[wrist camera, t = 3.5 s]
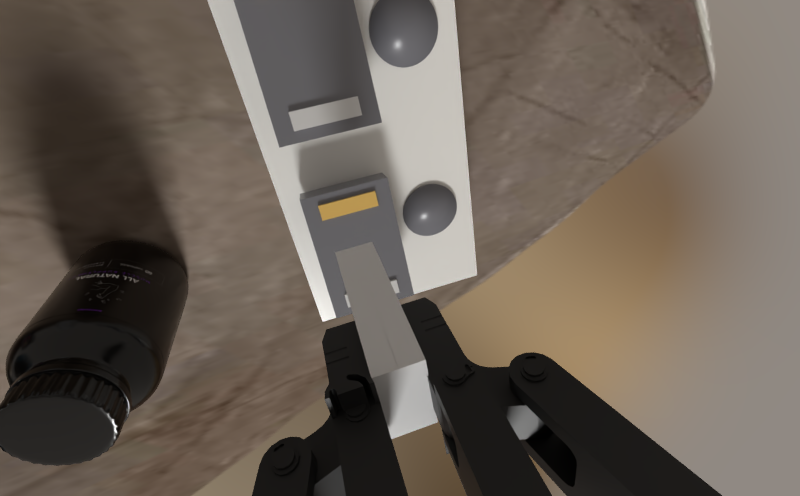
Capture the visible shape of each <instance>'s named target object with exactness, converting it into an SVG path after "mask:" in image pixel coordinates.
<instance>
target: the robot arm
mask: <svg viewBox="0 0 800 496" xmlns="http://www.w3.org/2000/svg"><path fill="white" fill-rule="evenodd" d="M335 254H336V257H337V261H338V264H339V268H340V271H341V275H342V278H343V282H344V285H345V289H346V292H347V296H348V299H349V302H350V306H351V309H352V313H353V316H354V320H355V321H352V322H349V323H346V324H343V325H340V326H337V327H333V328H330V329H327V330H326V332H325V335H324V338H323V341H322V344H323V350H324V355H325V361H326V365H327V366H326V367H327V372H328V378H329V385H328V387H327V389H326V391H325V401H326V404H327V406H328V409H329V411H330V416H329V418H328V420H327V421H326V422H325V424H324V425H323V426H322V427H320V428H319V429H318V430H317V431H316V432H314V433H313V434H312V435H310V436H308V437H307V438H306V439H304V440H303V439H301V438H300V437H288V438H285V439H282V440H279V441H278V442H277V443H275V444H274V445H272V446H271V447H270V448H269V449H268V451H267V452H266V453H265V454H264V456H263V458H262V460H261V463H260V465H259V469H258V473H257V477H256V481H255V486H254V490H253V494H252V496H408V493H407V490H406V487H405V484H404V480H403V477H402V473H401V470H400V466H399V463H398V460H397V457H396V453H395V450H394V447H393V443H392V440H391V439H393V438H396V437H398V436H401V435H404V434H407V433H409V432H412V431H415V430H418V429H420V428H423V427H425V426H428V425H431V424H434V423H437V422H438V421H437V418H438V420H439V422H440V425H441V427H442V432H443V437H444V443H445V448H446V453H447V454H449V453H450V455H451V458H452V460H453V462H454V465H455V468H456V470H457V472H458V475H459V477H460V479H461V482H462V485H463V487H464V489H465V492H466V494H467V496H552V495H551V493H550V491H549V490H548V488H547V486H546V484H545V483H544V481H543V479H542V478H541V476H540V474H539V472H538V471H537V469H536V467H535V466H534V464H533V462H532V460H531V459H530V457H529V455H530V456H531V457H532V458H533V460H534V461H535V462H536V463H537V464H538V465H539V466H540V467H541V468H542V469H543V470H544V471H545V473H546V474H547V475H548V476H549V477H550V478H551V479H552V480H553V481H554V482H555V483H556V484H557V486H558V487H559V488H560V489H561V490H562V491H563V492H564V493H565V494H566V495H567V496H722V495H721V494H719V493H718V492H717V491H716V490H714V489H713V488H712V487H711V486H709V485H708V484H707V483H706V482H704V481H703V480H702V479H701V478H699V477H698V476H697V475H696V474H694V473H693V472H692V471H691V470H689V469H688V468H687V467H686V466H684V465H683V464H682V463H681V462H679V461H678V460H677V459H676V458H674V457H673V456H672V455H671V454H669V453H668V452H667V451H666V450H664V449H663V448H662V447H661V446H659V445H658V444H657V443H656V442H654V441H653V440H652V439H651V438H649V437H648V436H647V435H646V434H644V433H643V432H642V431H641V430H639V429H638V428H637V427H636V426H634V425H633V424H632V423H631V422H629V421H628V420H627V419H626V418H624V417H623V416H622V415H621V414H620V413H618V412H617V411H616V410H615V409H613V408H612V407H611V406H610V405H608V404H607V403H606V402H605V401H603V400H602V399H601V398H600V397H598V396H597V395H596V394H595V393H593V392H592V391H591V390H590V389H588V388H587V387H586V386H584V385H583V384H582V383H581V382H580V381H578V380H577V379H576V378H574V377H573V376H572V375H571V374H570V373H568V372H567V371H566V370H565V369H563V368H562V367H561V366H560V365H558V364H557V363H556V362H555V361H553V360H552V359H550V358H549V357H546V356H545V355H543V354H539V353H524V354H521V355H519V356H516V357H515V358H514V359H513V360H512V361H511V363H510V366H509V367H495V368H492V367H483V366H479V365H477V364H474V363H473V362H471V361H470V360H468V359H467V357H466V356H465V355H464V353H463V352H462V350H461V348H460V346H459V345H458V343H457V341H456V339H455V338H454V336H453V334H452V332H451V331H450V329H449V327H448V325H447V324H446V322H445V320H444V318H443V317H442V315H441V313H440V311H439V309H438V308H437V306H436V304H434V303H433V302H431V301H430V300H428V299H427V298H421V299H418V300H415V301H412V302H409V303H406V304H403V305H401V304H400V302H399V300H398V298H397V295H396V293H395V291H394V289H393V287H392V284H391V282H390V280H389V278H388V276H387V273H386V271H385V269H384V267H383V265H382V262H381V260H380V258H379V256H378V254H377V251H376V249H375V247H374V245H373V243H372V242H369V243H366V244H362V245H359V246H355V247H352V248H349V249H345V250H342V251H338V252H335ZM528 454H529V455H528Z"/></svg>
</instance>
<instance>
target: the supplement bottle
mask: <svg viewBox="0 0 800 496" xmlns="http://www.w3.org/2000/svg"><path fill="white" fill-rule="evenodd" d="M187 295H188V281H187V278H186V275H185V272H184V270H183V269H182V267H181V266H180V265H179V263H178V262H177V261H176V260H175V259H174V258H173V257H172V256H170V255H169V254H168V253H166V252H165V251H163V250H161V249H159V248H157V247H155V246H152V245H149V244H146V243H142V242H137V241H113V242H108V243H104V244H101V245H98V246H96V247H94V248H92V249H90V250H89V251H87V252H86V253H85V254H84V255H83V256H82V257H81V258H80V259H79V260H78V261H77V262H76V263H75V264H74V266H73V267H72V268H71V269H70V271H69V272H68V273H67V274H66V276H65V277H64V278H63V280H62V281H61V282H60V283H59V285H58V286H57V287H56V289H55V290H54V291H53V292H52V294H51V295H50V296H49V298H48V299H47V300H46V302H45V303H44V304H43V305H42V307H41V308H40V309H39V311H38V312H37V313H36V314H35V316H34V317H33V318H32V320H31V321H30V322H29V323H28V325H27V326H26V327H25V329H24V330H23V331H22V332H21V334H20V335H19V336H18V338H17V339H16V341H15V342H14V343H13V345H12V347H11V348H10V350H9V353H8V355H7V359H6V376H7V380H8V383H9V385H10V388H9V390H8V391H7V393H6V395H5V398H4V400H3V401H2V403H1V404H0V447H1V448H2V450H3V451H5V452H7V453H9V454H10V455H11V456H13V457H17V458H19V459H21V460H23V461H29V462H31V463H34V464H43V465H56V466H59V465H71V464H75V463H82V462H84V461H89V460H92V459H93V458H95V457H99V456H100V455H101V454H102V453H104V452H107V451H108V449H109V448H110V447H112V446H113V445H114V443H115V441H116V440H117V438H118V437H119V435H120V432H121V429H122V427H123V424H124V422H125V421H126V420H127V418H128V415H129V413H130V412H131V411H132V410H134V409H136V408H137V407H139V406H140V405H142V404H143V403H144V402H145V401H146V400H148V399H149V398H150V397H151V395H152V394H153V393H154V392H155V390H156V389H157V387H158V385H159V383H160V381H161V379H162V376H163V373H164V370H165V367H166V364H167V360H168V357H169V354H170V351H171V348H172V345H173V341H174V338H175V335H176V332H177V329H178V325H179V322H180V319H181V316H182V313H183V309H184V306H185V303H186V299H187Z"/></svg>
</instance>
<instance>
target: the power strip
mask: <svg viewBox="0 0 800 496" xmlns="http://www.w3.org/2000/svg"><path fill="white" fill-rule="evenodd" d="M208 3H209V6H210V9H211V12H212V14H213V17H214V20H215V23H216V26H217V28H218V31H219V34H220V37H221V40H222V42H223V45H224V48H225V51H226V53H227V56H228V59H229V62H230V65H231V67H232V70H233V73H234V76H235V79H236V81H237V84H238V87H239V90H240V92H241V95H242V98H243V101H244V104H245V106H246V109H247V112H248V115H249V118H250V120H251V123H252V126H253V129H254V132H255V134H256V137H257V140H258V143H259V145H260V148H261V151H262V154H263V157H264V159H265V162H266V165H267V168H268V171H269V173H270V176H271V179H272V182H273V185H274V187H275V190H276V193H277V196H278V198H279V201H280V204H281V207H282V210H283V212H284V215H285V218H286V221H287V224H288V226H289V229H290V232H291V235H292V238H293V240H294V243H295V246H296V249H297V251H298V254H299V257H300V260H301V263H302V265H303V268H304V271H305V274H306V277H307V279H308V282H309V285H310V288H311V290H312V293H313V296H314V299H315V302H316V304H317V307H318V310H319V313H320V316H321V318H322V321H326V320H330V319H333V318H336V315H335V312H334V309H333V305H332V302H331V299H330V296H329V293H328V289H327V286H326V283H325V280H324V277H323V273H322V270H321V267H320V264H319V261H318V257H317V254H316V251H315V248H314V245H313V241H312V238H311V235H310V232H309V229H308V225H307V222H306V219H305V216H304V213H303V210H302V206H301V203H300V194H301V193H305V192H308V191H312V190H316V189H320V188H324V187H328V186H332V185H335V184H339V183H343V182H347V181H351V180H355V179H359V178H362V177H366V176H370V175H374V174H378V173H383V174H384V175H385V176H386V177H387V178H388V182H389V187H390V191H391V196H392V200H393V204H394V209H395V213H396V218H397V222H398V226H399V231H400V235H401V239H402V244H403V248H404V253H405V257H406V261H407V266H408V270H409V274H410V279H411V283H412V288H413V292H414V294H416V293H419V292H423V291H426V290H429V289H433V288H436V287H439V286H443V285H446V284H449V283H453V282H456V281H459V280H463V279H466V278H469V277H473V276H476V275H477V268H476V256H475V244H474V232H473V220H472V208H471V196H470V184H469V171H468V159H467V147H466V135H465V123H464V111H463V99H462V87H461V75H460V63H459V50H458V38H457V26H456V14H455V2H454V0H354V4H355V8H356V12H357V17H358V21H359V25H360V29H361V34H362V38H363V42H364V47H365V51H366V55H367V60H368V64H369V68H370V72H371V77H372V81H373V85H374V90H375V94H376V98H377V103H378V107H379V111H380V116H381V120H382V123H378V124H374V125H370V126H366V127H362V128H358V129H354V130H350V131H346V132H341V133H337V134H333V135H329V136H325V137H321V138H317V139H313V140H309V141H305V142H301V143H296V144H292V145H288V146H284V147H280V148H279V145H278V141H277V138H276V135H275V132H274V129H273V125H272V122H271V119H270V116H269V113H268V109H267V106H266V103H265V100H264V96H263V93H262V90H261V87H260V84H259V80H258V77H257V74H256V71H255V67H254V64H253V61H252V58H251V55H250V51H249V48H248V45H247V42H246V39H245V35H244V32H243V29H242V26H241V22H240V19H239V16H238V13H237V10H236V6H235V3H234V0H208Z"/></svg>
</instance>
